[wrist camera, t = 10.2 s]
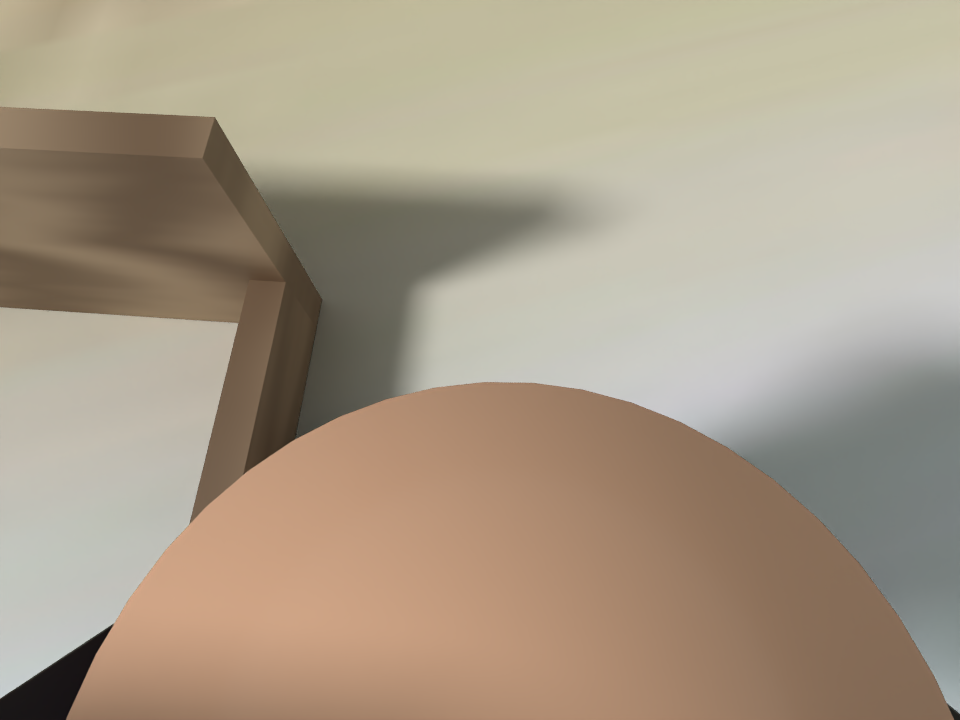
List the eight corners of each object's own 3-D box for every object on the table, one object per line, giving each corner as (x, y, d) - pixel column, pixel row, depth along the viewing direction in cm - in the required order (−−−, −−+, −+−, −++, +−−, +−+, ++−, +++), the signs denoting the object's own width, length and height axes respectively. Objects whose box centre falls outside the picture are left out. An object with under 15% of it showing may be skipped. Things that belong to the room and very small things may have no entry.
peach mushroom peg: (648, 532, 16) (922, 411, 6) (652, 875, 13) (1162, 1771, 3) (373, 508, 16) (167, 355, 6) (325, 837, 14) (-172, 1527, 4)
